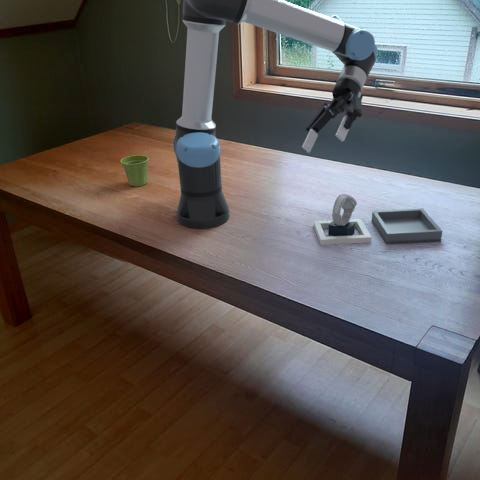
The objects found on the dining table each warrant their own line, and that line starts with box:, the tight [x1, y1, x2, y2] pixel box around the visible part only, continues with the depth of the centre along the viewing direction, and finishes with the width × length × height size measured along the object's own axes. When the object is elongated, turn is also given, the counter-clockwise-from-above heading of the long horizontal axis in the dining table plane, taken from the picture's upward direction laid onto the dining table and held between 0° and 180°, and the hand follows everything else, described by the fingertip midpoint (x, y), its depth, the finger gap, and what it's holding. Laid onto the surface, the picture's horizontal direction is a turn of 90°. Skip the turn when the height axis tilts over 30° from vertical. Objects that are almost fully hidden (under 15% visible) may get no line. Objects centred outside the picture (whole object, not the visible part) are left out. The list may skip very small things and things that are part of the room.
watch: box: [327, 193, 358, 237], centre depth 135 cm, size 6×8×11 cm
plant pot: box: [120, 154, 150, 188], centre depth 174 cm, size 9×9×9 cm
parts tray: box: [371, 208, 443, 245], centre depth 137 cm, size 14×14×3 cm
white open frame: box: [313, 218, 372, 246], centre depth 137 cm, size 13×11×2 cm
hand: (321, 144), depth 140 cm, fingers open, 13 cm apart
